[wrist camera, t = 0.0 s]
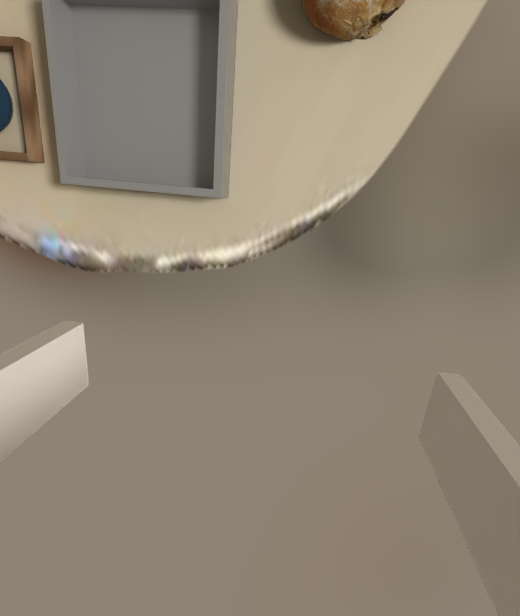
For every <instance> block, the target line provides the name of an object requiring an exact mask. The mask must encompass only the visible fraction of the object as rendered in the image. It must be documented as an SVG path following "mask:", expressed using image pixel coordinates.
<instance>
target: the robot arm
mask: <svg viewBox="0 0 520 616" xmlns="http://www.w3.org/2000/svg"><path fill="white" fill-rule="evenodd" d="M87 369H88V368H87V358H86V349H85V338H84V327H83V323H79V322H72V321H63V322H61V323H59V324H57V325H55V326H53V327H51V328H50V329H48V330H45V331H44V332H42V333H40V334H38V335H36V336H34V337H32V338H30V339H29V340H26V341H25V342H22V343H21V344H19V345H17V346H15V347H13V348H11V349H9V350H7V351H5V352H3V353H1V354H0V462H1V461H2V460H3V459H4V458H5V457H7V456H8V455H9V454H10V453H11V452H12V451H14V450H15V449H16V448H17V447H18V446H19V445H20V444H22V443H23V442H24V441H25V440H26V439H27V438H28V437H30V436H31V435H32V434H33V433H34V432H35V431H37V430H38V429H39V428H40V427H41V426H42V425H44V424H45V423H46V422H47V421H48V420H49V419H50V418H51V417H53V416H54V415H55V414H56V413H57V412H58V411H60V409H62V408H63V407H64V406H65V405H67V404H68V403H69V402H70V401H71V400H72V399H73V398H75V397H76V396H77V395H78V394H79V393H80V392H81V391H83V390H84V389H85V388H86V387H87V386H88V385H89V379H88V370H87ZM419 439H420V441H421V443H422V446H423V448H424V450H425V452H426V454H427V457H428V459H429V461H430V464H431V466H432V468H433V470H434V473H435V475H436V477H437V479H438V482H439V484H440V486H441V488H442V490H443V493H444V495H445V497H446V500H447V502H448V504H449V506H450V509H451V511H452V513H453V515H454V518H455V520H456V522H457V524H458V527H459V529H460V531H461V533H462V536H463V538H464V540H465V542H466V545H467V547H468V549H469V551H470V554H471V556H472V558H473V560H474V563H475V565H476V567H477V570H478V572H479V574H480V576H481V578H482V581H483V583H484V585H485V588H486V590H487V592H488V594H489V596H490V599H491V601H492V603H493V605H494V608H495V610H496V612H497V615H498V616H520V446H519V445H518V444H517V442H516V441H515V440H514V439H513V438H512V436H511V435H510V434H509V433H508V432H507V430H506V429H505V428H504V427H503V425H502V424H501V423H500V422H499V421H498V419H497V418H496V417H495V416H494V415H493V413H492V412H491V411H490V410H489V408H488V407H487V406H486V405H485V404H484V402H483V401H482V400H481V399H480V398H479V397H478V395H477V394H476V393H475V392H474V390H473V389H472V388H471V387H470V386H469V384H468V383H467V382H466V381H465V379H464V378H463V377H462V376H461V375H457V374H450V373H442V372H437V376H436V379H435V382H434V386H433V389H432V393H431V396H430V400H429V403H428V406H427V410H426V414H425V417H424V420H423V423H422V427H421V430H420V434H419Z"/></svg>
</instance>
